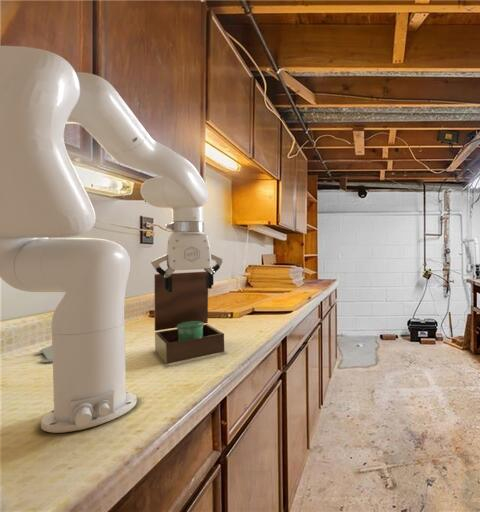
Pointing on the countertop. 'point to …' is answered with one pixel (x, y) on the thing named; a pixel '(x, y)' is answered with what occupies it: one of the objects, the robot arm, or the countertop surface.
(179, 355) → the bin
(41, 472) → the countertop surface
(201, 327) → the pot
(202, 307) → the bin lid
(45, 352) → the metal bracket
